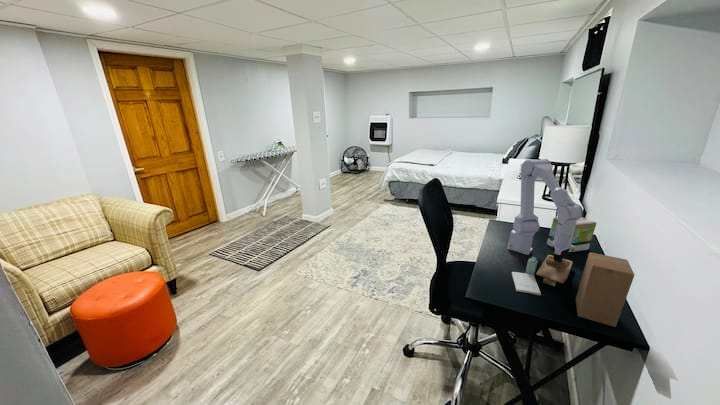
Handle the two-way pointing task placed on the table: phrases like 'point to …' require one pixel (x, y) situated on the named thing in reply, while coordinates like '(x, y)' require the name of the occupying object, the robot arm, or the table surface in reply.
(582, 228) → the tea box
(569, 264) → the tan shallow box
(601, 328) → the table surface
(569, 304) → the table surface
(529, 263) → the teal stepped block
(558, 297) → the table surface
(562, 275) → the lid
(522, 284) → the external hard drive
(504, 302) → the table surface
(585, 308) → the wooden block
